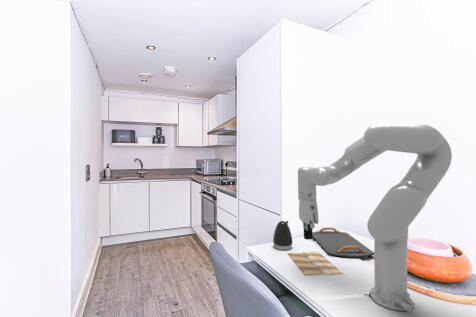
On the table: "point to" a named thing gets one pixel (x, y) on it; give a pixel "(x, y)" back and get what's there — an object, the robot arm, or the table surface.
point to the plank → (304, 264)
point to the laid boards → (323, 263)
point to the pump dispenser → (282, 236)
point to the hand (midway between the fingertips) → (308, 238)
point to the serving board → (340, 244)
